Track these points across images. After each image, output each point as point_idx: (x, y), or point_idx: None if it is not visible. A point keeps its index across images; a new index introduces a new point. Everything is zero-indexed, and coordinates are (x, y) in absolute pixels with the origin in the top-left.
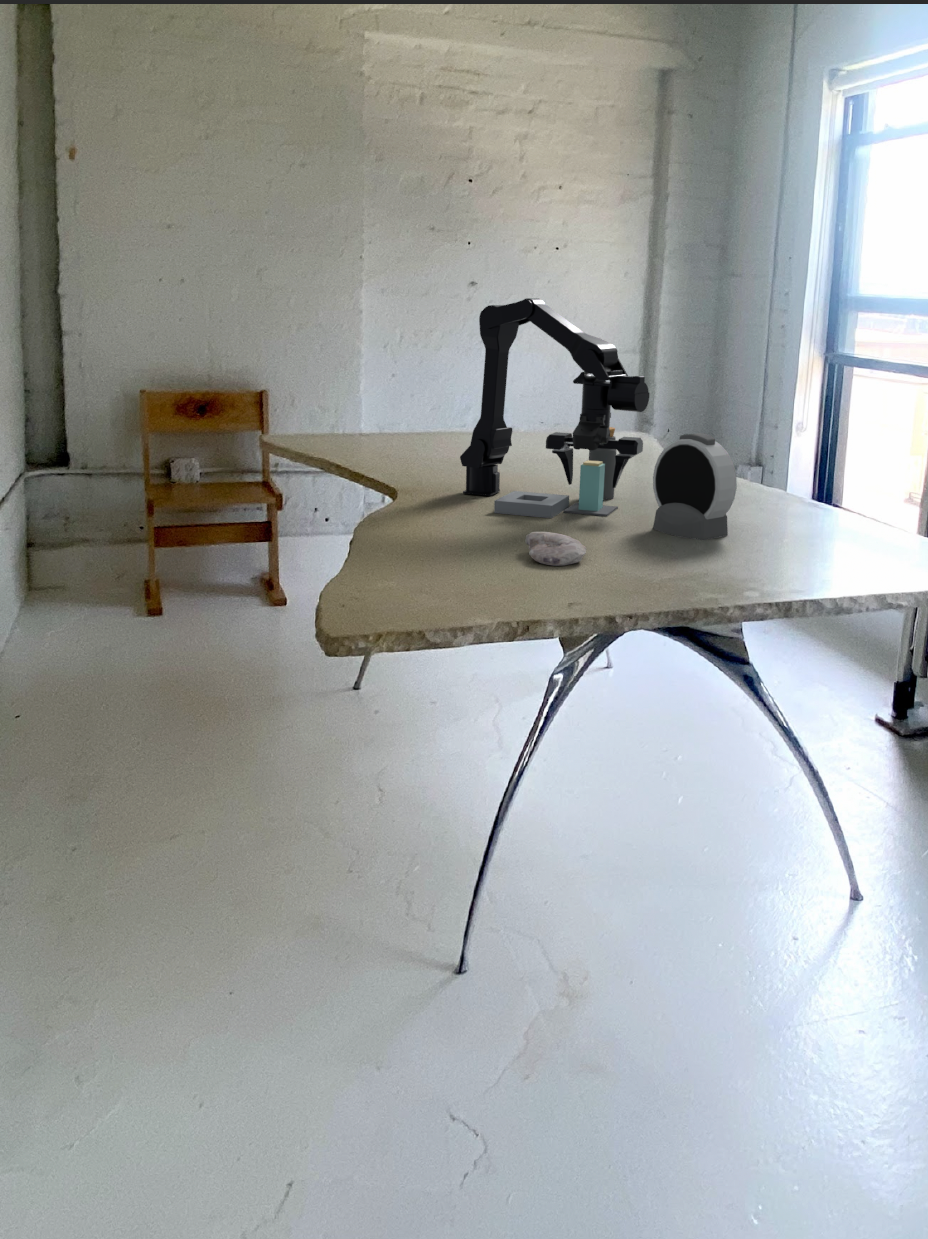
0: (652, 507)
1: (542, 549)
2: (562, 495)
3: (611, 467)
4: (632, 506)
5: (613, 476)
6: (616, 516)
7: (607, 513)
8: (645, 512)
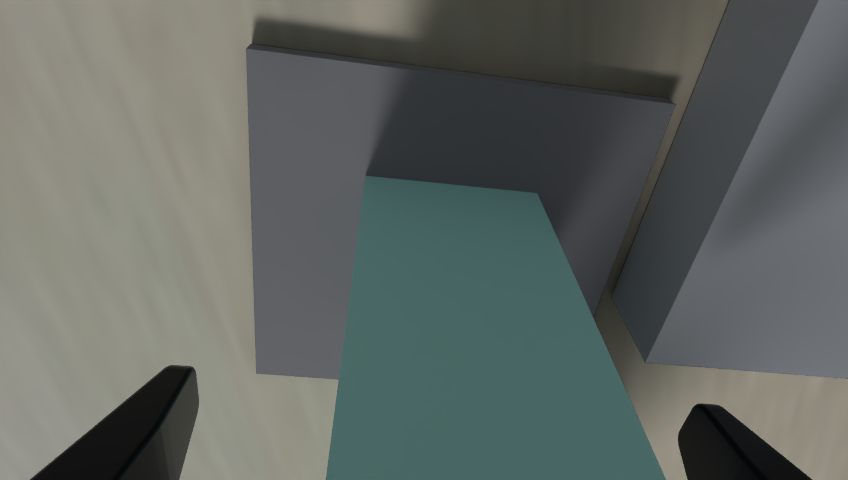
0: (63, 448)
1: None
2: (706, 347)
3: None
4: (191, 439)
5: (115, 477)
6: (170, 83)
7: (254, 97)
8: (25, 306)
